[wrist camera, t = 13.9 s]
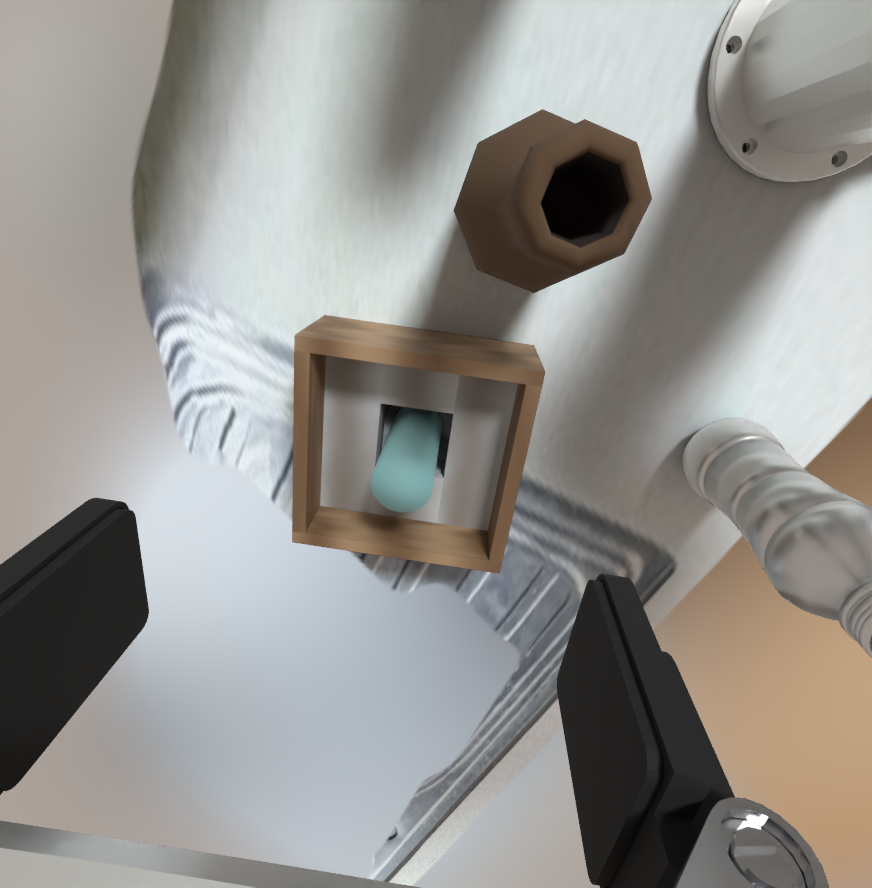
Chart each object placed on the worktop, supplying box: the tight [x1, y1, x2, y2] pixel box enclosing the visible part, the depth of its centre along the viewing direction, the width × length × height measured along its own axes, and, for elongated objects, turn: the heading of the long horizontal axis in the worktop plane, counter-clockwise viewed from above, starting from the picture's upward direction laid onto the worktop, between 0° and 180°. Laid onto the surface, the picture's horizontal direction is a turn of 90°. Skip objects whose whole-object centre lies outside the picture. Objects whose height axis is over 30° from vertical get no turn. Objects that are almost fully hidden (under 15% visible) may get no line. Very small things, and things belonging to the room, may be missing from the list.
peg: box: [371, 407, 442, 512], centre depth 37 cm, size 4×4×10 cm
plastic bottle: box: [682, 418, 872, 657], centre depth 32 cm, size 6×7×20 cm
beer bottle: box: [454, 109, 652, 293], centre depth 24 cm, size 8×8×24 cm
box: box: [292, 315, 545, 573], centre depth 39 cm, size 16×16×7 cm
